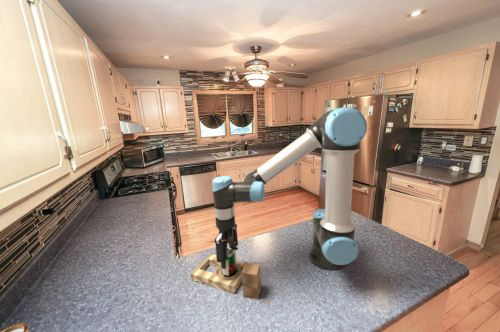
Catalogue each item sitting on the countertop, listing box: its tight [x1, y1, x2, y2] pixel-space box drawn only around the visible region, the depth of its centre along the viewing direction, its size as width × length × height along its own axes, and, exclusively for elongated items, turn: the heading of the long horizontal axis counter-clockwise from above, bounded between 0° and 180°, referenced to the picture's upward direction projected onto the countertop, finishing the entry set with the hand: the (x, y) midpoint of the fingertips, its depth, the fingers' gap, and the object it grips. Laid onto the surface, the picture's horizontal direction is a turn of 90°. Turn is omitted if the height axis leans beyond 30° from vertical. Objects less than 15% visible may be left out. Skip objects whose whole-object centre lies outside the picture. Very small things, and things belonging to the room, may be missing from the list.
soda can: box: [223, 247, 237, 277], centre depth 84 cm, size 5×5×12 cm
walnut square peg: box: [241, 262, 262, 300], centre depth 76 cm, size 6×6×10 cm
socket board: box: [190, 253, 247, 294], centre depth 86 cm, size 20×14×3 cm
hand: (229, 268), depth 84 cm, fingers open, 6 cm apart
